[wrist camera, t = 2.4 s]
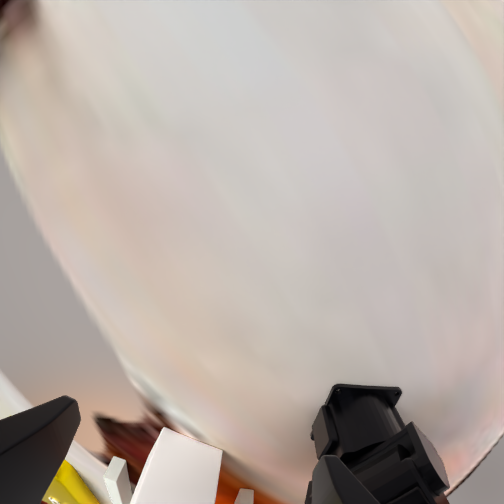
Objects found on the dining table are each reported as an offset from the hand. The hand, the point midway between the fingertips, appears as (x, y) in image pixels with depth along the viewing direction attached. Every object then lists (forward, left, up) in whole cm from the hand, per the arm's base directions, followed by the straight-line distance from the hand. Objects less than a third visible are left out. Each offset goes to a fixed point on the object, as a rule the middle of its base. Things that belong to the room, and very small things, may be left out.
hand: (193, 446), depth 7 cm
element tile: (+23, +39, -14) cm, 47 cm away
